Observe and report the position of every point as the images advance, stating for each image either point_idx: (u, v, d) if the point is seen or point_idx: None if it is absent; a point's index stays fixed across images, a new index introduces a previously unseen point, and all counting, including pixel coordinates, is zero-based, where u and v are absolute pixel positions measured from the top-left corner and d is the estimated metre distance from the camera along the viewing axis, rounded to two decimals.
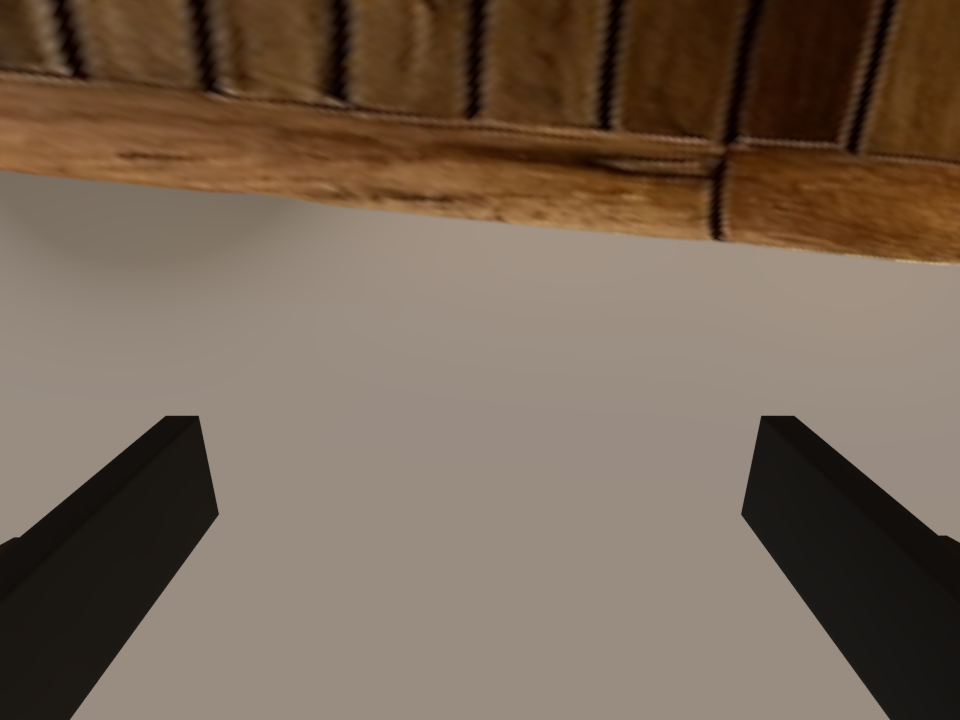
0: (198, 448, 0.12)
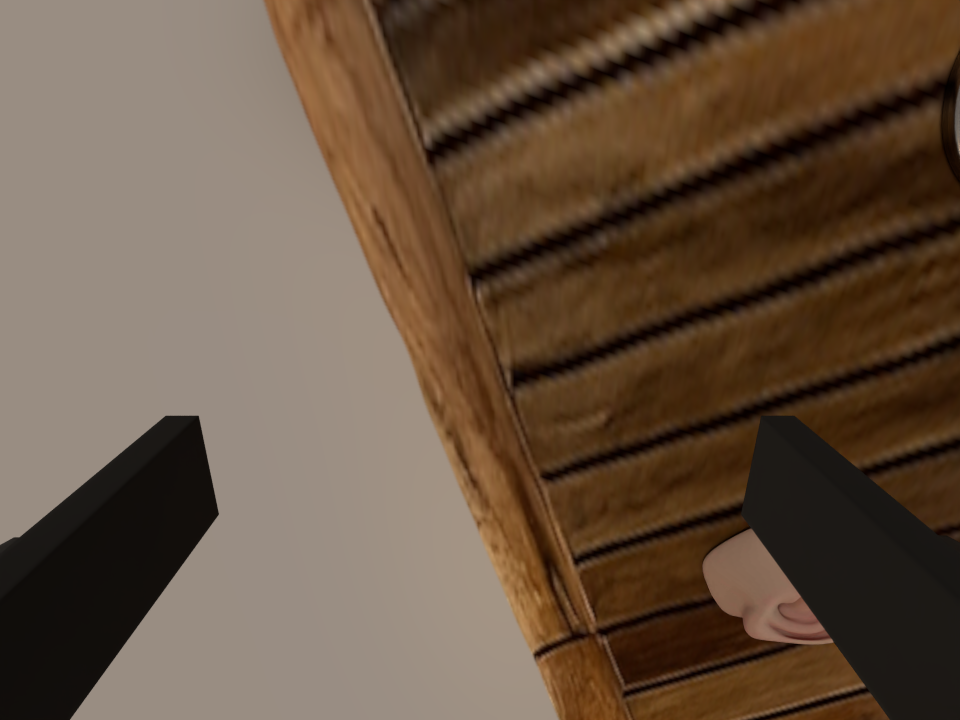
0: (198, 447, 0.12)
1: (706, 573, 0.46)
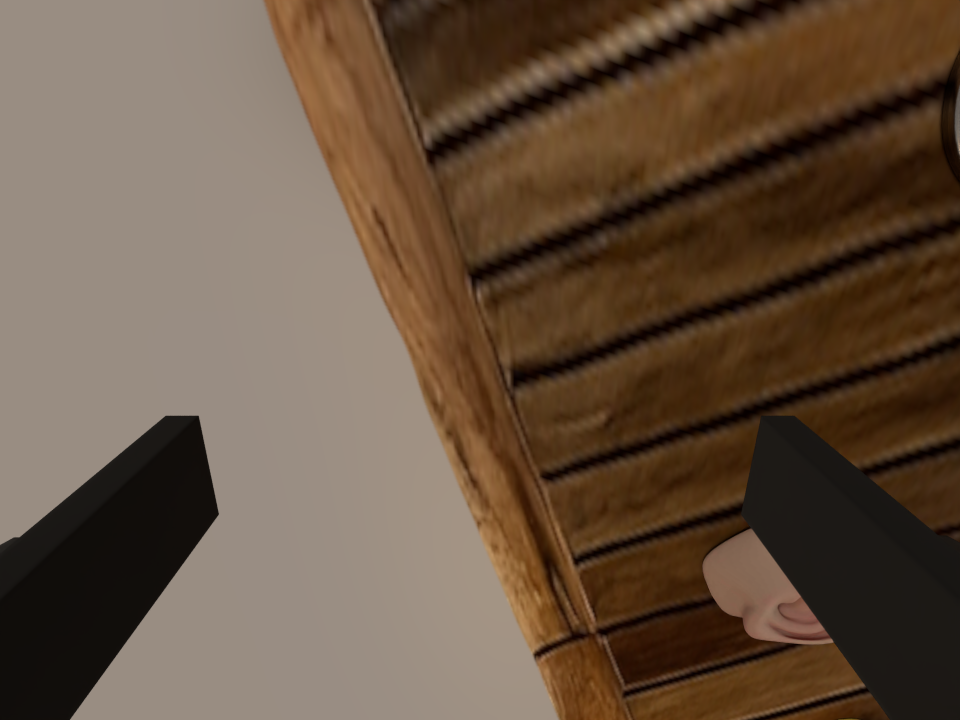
0: (198, 447, 0.12)
1: (706, 573, 0.46)
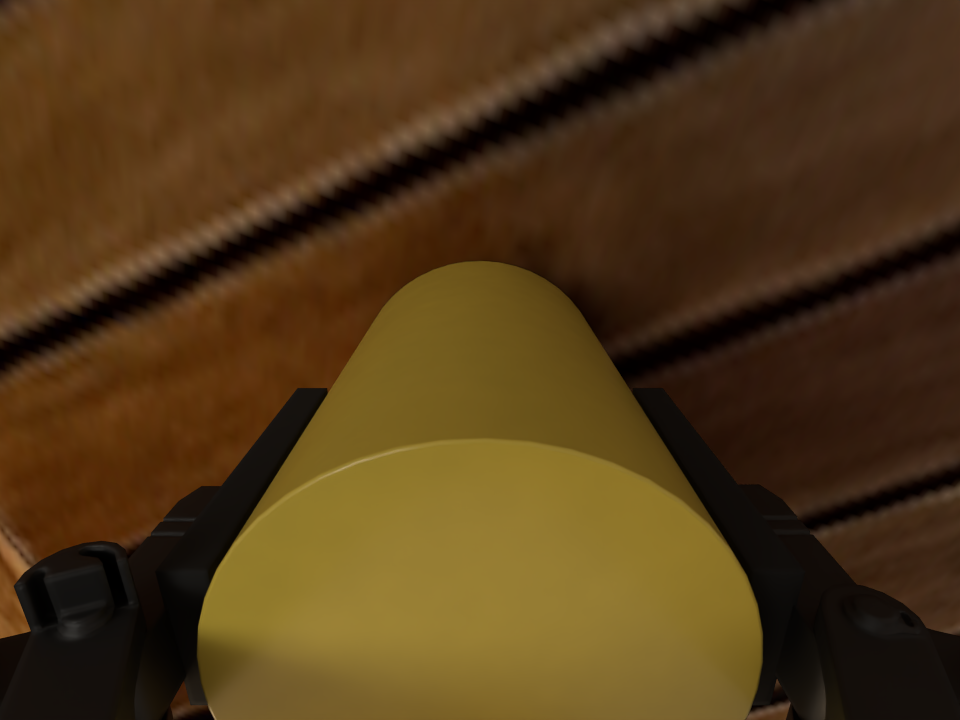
0: None
1: None
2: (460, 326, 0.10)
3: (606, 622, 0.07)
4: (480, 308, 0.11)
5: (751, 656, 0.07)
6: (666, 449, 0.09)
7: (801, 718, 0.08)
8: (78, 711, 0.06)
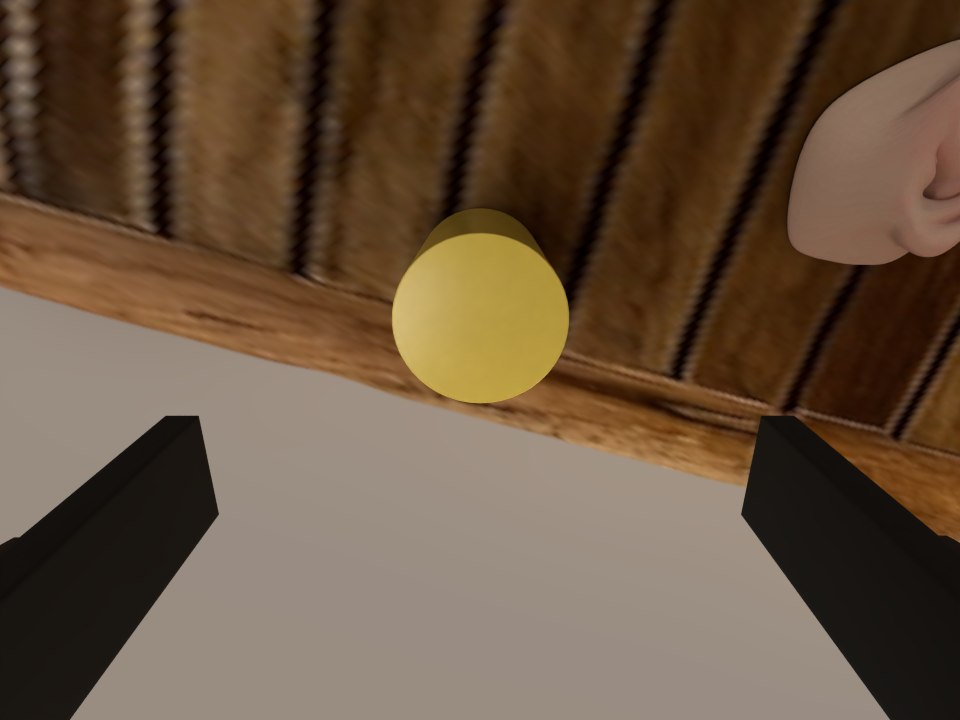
0: (198, 448, 0.12)
1: (810, 252, 0.33)
2: (472, 221, 0.27)
3: (519, 296, 0.23)
4: (480, 218, 0.28)
5: (564, 310, 0.24)
6: (545, 257, 0.25)
7: None
8: None
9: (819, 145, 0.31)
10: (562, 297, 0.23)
